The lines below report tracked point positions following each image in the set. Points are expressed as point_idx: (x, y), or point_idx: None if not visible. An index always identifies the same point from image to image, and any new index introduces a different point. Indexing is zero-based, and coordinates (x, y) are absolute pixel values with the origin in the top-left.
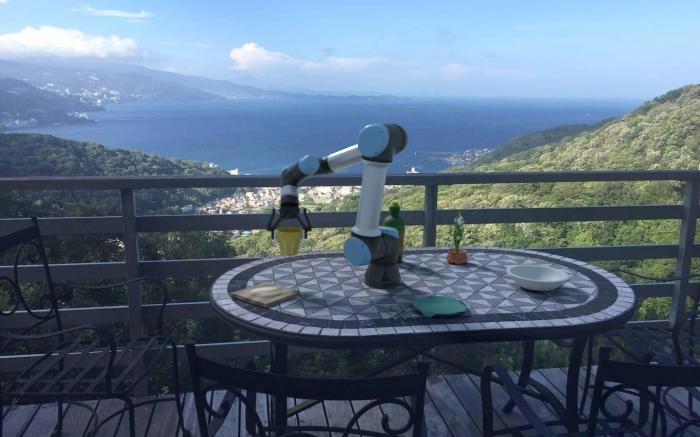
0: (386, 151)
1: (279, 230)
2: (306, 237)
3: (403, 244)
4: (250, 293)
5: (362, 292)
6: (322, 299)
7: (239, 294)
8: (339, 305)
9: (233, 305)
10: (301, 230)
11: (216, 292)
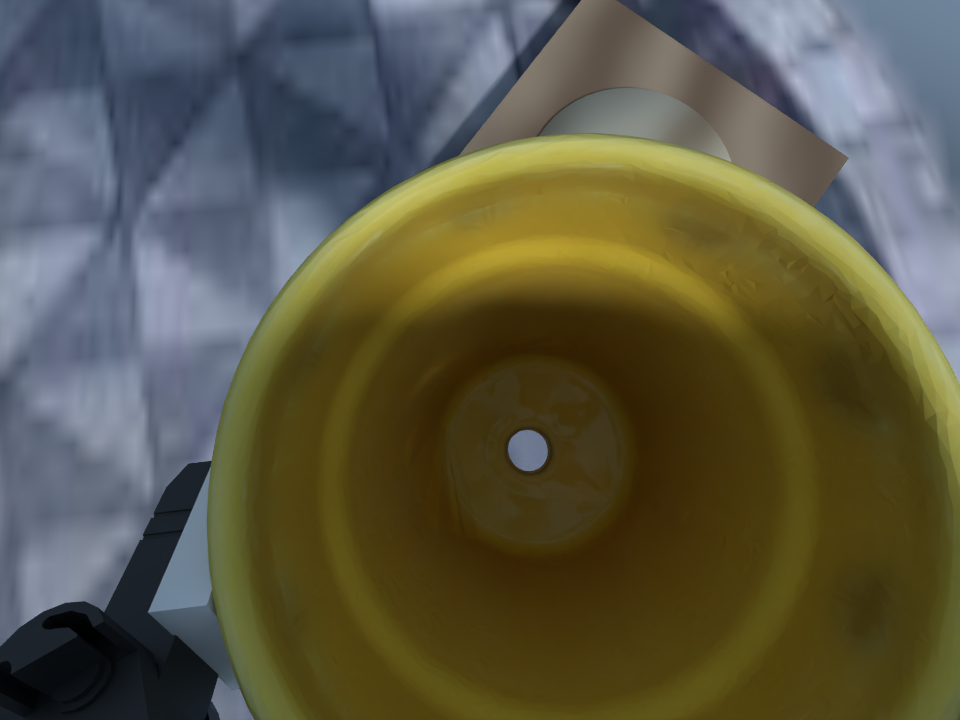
0: None
1: (887, 631)
2: (199, 469)
3: None
4: (725, 148)
5: (16, 318)
6: (272, 167)
7: (790, 133)
8: (171, 75)
9: (776, 31)
10: (236, 522)
11: (952, 245)
